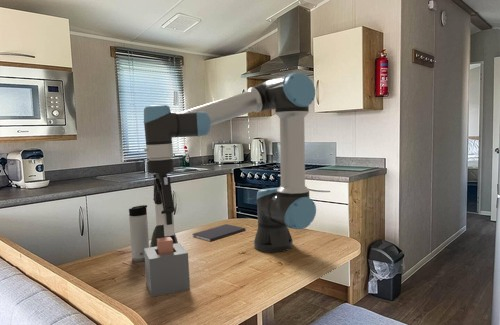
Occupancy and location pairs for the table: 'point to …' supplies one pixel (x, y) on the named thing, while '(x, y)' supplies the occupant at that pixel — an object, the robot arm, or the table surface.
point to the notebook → (218, 232)
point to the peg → (164, 245)
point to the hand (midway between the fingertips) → (165, 229)
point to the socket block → (167, 270)
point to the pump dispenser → (160, 235)
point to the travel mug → (138, 232)
